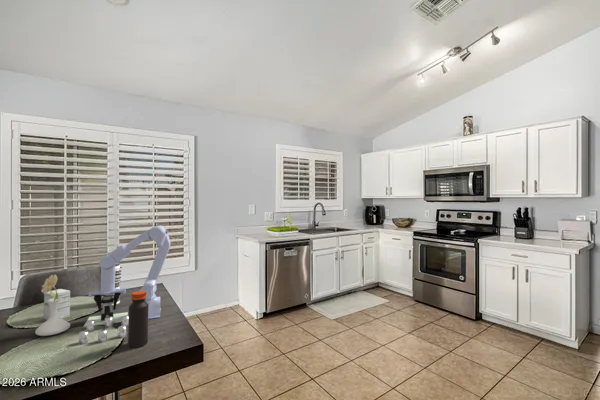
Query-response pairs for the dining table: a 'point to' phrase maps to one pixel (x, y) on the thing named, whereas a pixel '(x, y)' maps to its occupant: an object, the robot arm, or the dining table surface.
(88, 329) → the spacer posts
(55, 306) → the flower in vase
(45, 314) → the supplement box
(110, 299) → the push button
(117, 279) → the decorative candle
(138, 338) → the bottle
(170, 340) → the dining table surface
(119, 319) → the sage mat
